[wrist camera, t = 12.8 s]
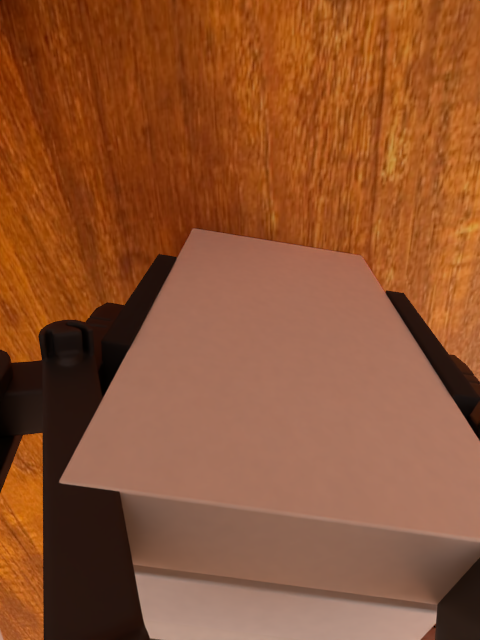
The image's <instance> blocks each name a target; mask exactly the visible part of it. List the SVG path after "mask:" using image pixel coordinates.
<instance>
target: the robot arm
mask: <svg viewBox="0 0 480 640" xmlns="http://www.w3.org/2000/svg"><path fill="white" fill-rule="evenodd" d="M176 259H177V257H174V256H167V255H161V254H158V256H157V257H156V259H155V260H154V262H153V263H152V265H151V266H150V268H149V269H148V271H147V272H146V274H145V276H144V277H143V279H142V280H141V282H140V283H139V285H138V286H137V288H136V289H135V291H134V292H133V294H132V295H131V297H130V298H129V300H128V301H127V303H126V304H125V305H120V304H114V303H106V304H104V305H102V306H100V307H98V308H96V309H95V311H94V312H93V313H92V314H91V316H90V318H88V320H87V321H86V322H82V321H77V320H62V321H57V322H53V323H51V324H49V325H46V326H45V327H44V328H43V329H41V331H40V333H39V342H40V348H41V355H42V360H41V361H33V362H18V363H11V359H10V356H9V355H8V353H7V352H5V351H2V350H0V492H1V490H2V487H3V485H4V482H5V479H6V477H7V474H8V472H9V469H10V467H11V464H12V462H13V459H14V457H15V454H16V451H17V449H18V446H19V444H20V441H21V439H22V436H23V435H26V434H35V433H43V589H44V640H150V637H149V634H148V631H147V629H146V627H145V624H144V620H143V616H142V611H141V605H140V600H139V594H138V589H137V583H136V578H135V572H134V567H133V562H132V556H131V551H130V545H129V540H128V534H127V529H126V523H125V518H124V512H123V507H122V501H121V496H120V491H113V490H106V489H98V488H91V487H84V486H77V485H69V484H62V483H59V480H60V479H61V477H62V475H63V473H64V471H65V469H66V467H67V465H68V463H69V462H70V460H71V458H72V456H73V454H74V452H75V450H76V448H77V446H78V445H79V443H80V441H81V439H82V437H83V435H84V433H85V431H86V429H87V428H88V426H89V424H90V422H91V420H92V418H93V416H94V414H95V412H96V410H97V409H98V407H99V405H100V403H101V401H102V399H103V397H104V395H105V393H106V392H107V390H108V388H109V386H110V384H111V382H112V380H113V378H114V376H115V375H116V373H117V371H118V369H119V367H120V365H121V363H122V361H123V359H124V358H125V356H126V354H127V352H128V350H129V349H130V347H131V345H132V343H133V341H134V339H135V337H136V335H137V333H138V332H139V330H140V328H141V326H142V324H143V322H144V320H145V318H146V316H147V315H148V313H149V311H150V309H151V307H152V305H153V303H154V301H155V299H156V297H157V296H158V294H159V292H160V290H161V288H162V286H163V284H164V282H165V280H166V279H167V277H168V275H169V273H170V271H171V269H172V267H173V265H174V263H175V261H176ZM386 295H387V296H388V298H389V299H390V301H391V303H392V304H393V306H394V307H395V309H396V310H397V312H398V314H399V315H400V317H401V318H402V320H403V321H404V323H405V325H406V326H407V328H408V329H409V331H410V332H411V334H412V336H413V337H414V339H415V340H416V342H417V343H418V345H419V347H420V348H421V350H422V351H423V353H424V354H425V356H426V358H427V359H428V361H429V362H430V364H431V365H432V367H433V369H434V370H435V372H436V373H437V375H438V376H439V378H440V380H441V381H442V383H443V384H444V386H445V387H446V389H447V391H448V392H449V394H450V395H451V397H452V398H453V400H454V401H455V403H456V405H457V406H458V408H459V409H460V411H461V412H462V414H463V416H464V417H465V419H466V420H467V422H468V423H469V425H470V427H471V428H472V430H473V431H474V433H475V434H476V436H477V438H478V439H479V441H480V382H479V381H478V379H477V378H476V377H475V376H474V374H473V373H472V371H471V370H470V369H469V368H468V366H467V365H466V364H465V363H464V362H462V361H461V360H460V359H458V358H457V357H456V356H455V355H449V354H448V353H447V352H446V350H445V349H444V348H443V346H442V345H441V343H440V342H439V341H438V339H437V338H436V337H435V335H434V334H433V333H432V331H431V330H430V328H429V327H428V326H427V324H426V323H425V322H424V320H423V319H422V318H421V316H420V315H419V313H418V312H417V311H416V309H415V308H414V307H413V305H412V304H411V303H410V301H409V300H408V298H407V297H406V296H405V294H404V293H399V292H393V291H386ZM435 640H480V558H479V559H478V560H477V561H476V562H475V563H474V564H473V565H472V567H471V568H470V569H469V570H468V571H467V572H466V573H465V574H464V575H463V576H462V578H461V579H460V580H459V581H458V582H457V583H456V584H455V585H454V586H453V587H452V589H451V590H450V591H449V592H448V593H447V594H446V595H445V596H444V597H443V599H442V600H441V601H440V602H439V603H438V604H437V617H436V630H435Z"/></svg>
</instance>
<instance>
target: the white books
mask: <svg viewBox="0 0 480 640" xmlns="http://www.w3.org/2000/svg"><path fill="white" fill-rule="evenodd" d="M133 567H134V572H135V578H136V583H137V589H138V594H139V600H140V605H141V611H142V616H143V620H144V624H145V627H146V629H147V631H148V634H149V637H150V638H152V639H160V640H420V639H421V638H422V637H423V636H424V635H425V634H426V633H427V632H428V631H429V630H430V629H431V628H432V627H433V626H434V625H435V624H436V617H437V604H429V603H422V602H414V601H407V600H399V599H391V598H384V597H376V596H369V595H361V594H353V593H346V592H338V591H331V590H323V589H315V588H308V587H300V586H292V585H285V584H277V583H270V582H262V581H254V580H247V579H239V578H232V577H224V576H216V575H209V574H201V573H194V572H186V571H178V570H171V569H163V568H156V567H148V566H140V565H133Z"/></svg>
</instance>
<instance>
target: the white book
mask: <svg viewBox="0 0 480 640" xmlns="http://www.w3.org/2000/svg"><path fill="white" fill-rule="evenodd" d="M59 483H62V484H69V485H77V486H84V487H91V488H98V489H106V490H113V491H120V496H121V501H122V507H123V512H124V518H125V523H126V529H127V534H128V540H129V545H130V551H131V556H132V562H133V565H140V566H148V567H156V568H163V569H171V570H178V571H186V572H194V573H201V574H209V575H216V576H224V577H232V578H239V579H247V580H254V581H262V582H270V583H277V584H285V585H292V586H300V587H308V588H315V589H323V590H331V591H338V592H346V593H353V594H361V595H369V596H376V597H384V598H391V599H399V600H407V601H414V602H422V603H429V604H438V603H439V602H440V601H441V600H442V599H443V597H444V596H445V595H446V594H447V593H448V592H449V591H450V590H451V589H452V587H453V586H454V585H455V584H456V583H457V582H458V581H459V580H460V579H461V578H462V576H463V575H464V574H465V573H466V572H467V571H468V570H469V569H470V568H471V567H472V565H473V564H474V563H475V562H476V561H477V560H478V559H479V558H480V441H479V439H478V438H477V436H476V434H475V433H474V431H473V430H472V428H471V427H470V425H469V423H468V422H467V420H466V419H465V417H464V416H463V414H462V412H461V411H460V409H459V408H458V406H457V405H456V403H455V401H454V400H453V398H452V397H451V395H450V394H449V392H448V391H447V389H446V387H445V386H444V384H443V383H442V381H441V380H440V378H439V376H438V375H437V373H436V372H435V370H434V369H433V367H432V365H431V364H430V362H429V361H428V359H427V358H426V356H425V354H424V353H423V351H422V350H421V348H420V347H419V345H418V343H417V342H416V340H415V339H414V337H413V336H412V334H411V332H410V331H409V329H408V328H407V326H406V325H405V323H404V321H403V320H402V318H401V317H400V315H399V314H398V312H397V310H396V309H395V307H394V306H393V304H392V303H391V301H390V299H389V298H388V296H387V295H386V293H385V292H384V290H383V288H382V287H381V285H380V284H379V282H378V281H377V279H376V277H375V276H374V274H373V273H372V271H371V270H370V268H369V266H368V265H367V263H366V262H365V260H364V259H363V257H362V256H361V255H355V254H349V253H343V252H337V251H331V250H324V249H318V248H312V247H306V246H300V245H294V244H288V243H281V242H275V241H269V240H263V239H257V238H251V237H245V236H238V235H232V234H226V233H220V232H214V231H208V230H202V229H195V228H193V229H192V231H191V233H190V235H189V237H188V239H187V240H186V242H185V244H184V246H183V248H182V250H181V252H180V254H179V256H178V257H177V259H176V261H175V263H174V265H173V267H172V269H171V271H170V273H169V275H168V277H167V279H166V280H165V282H164V284H163V286H162V288H161V290H160V292H159V294H158V296H157V297H156V299H155V301H154V303H153V305H152V307H151V309H150V311H149V313H148V315H147V316H146V318H145V320H144V322H143V324H142V326H141V328H140V330H139V332H138V333H137V335H136V337H135V339H134V341H133V343H132V345H131V347H130V349H129V350H128V352H127V354H126V356H125V358H124V359H123V361H122V363H121V365H120V367H119V369H118V371H117V373H116V375H115V376H114V378H113V380H112V382H111V384H110V386H109V388H108V390H107V392H106V393H105V395H104V397H103V399H102V401H101V403H100V405H99V407H98V409H97V410H96V412H95V414H94V416H93V418H92V420H91V422H90V424H89V426H88V428H87V429H86V431H85V433H84V435H83V437H82V439H81V441H80V443H79V445H78V446H77V448H76V450H75V452H74V454H73V456H72V458H71V460H70V462H69V463H68V465H67V467H66V469H65V471H64V473H63V475H62V477H61V479H60V480H59Z"/></svg>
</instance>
